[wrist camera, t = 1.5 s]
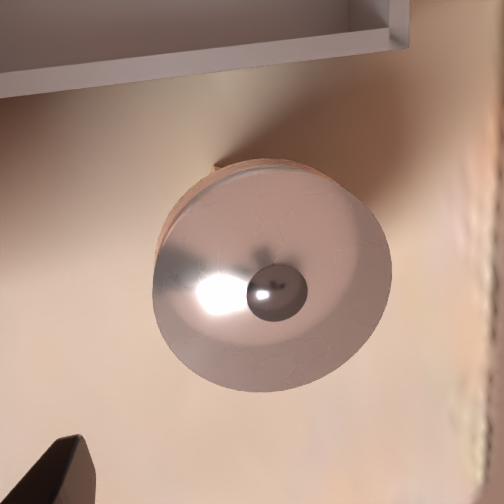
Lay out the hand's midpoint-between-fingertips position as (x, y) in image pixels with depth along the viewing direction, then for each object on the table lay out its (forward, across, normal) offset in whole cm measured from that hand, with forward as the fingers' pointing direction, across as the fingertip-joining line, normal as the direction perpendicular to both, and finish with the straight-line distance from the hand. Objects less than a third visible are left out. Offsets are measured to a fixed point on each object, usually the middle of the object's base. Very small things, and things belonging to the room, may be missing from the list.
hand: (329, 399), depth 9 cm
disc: (+7, 0, 0) cm, 7 cm away
